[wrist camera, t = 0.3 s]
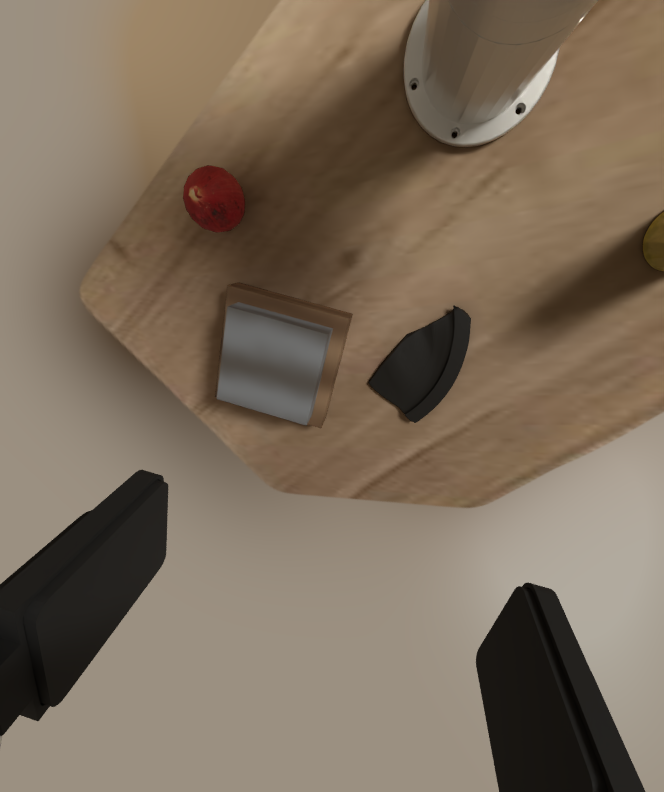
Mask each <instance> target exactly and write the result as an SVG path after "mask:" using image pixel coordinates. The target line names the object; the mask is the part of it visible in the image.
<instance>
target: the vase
mask: <svg viewBox="0 0 664 792" xmlns="http://www.w3.org/2000/svg"><path fill="white" fill-rule="evenodd" d="M643 253H644V257H645V259H646V261H647V262H648V263H649V264H650V265H651V266H652V267H653V268H655V269H657V270H660V271H664V212H663V213H661V214H660V215H659V216H658V217H657V218H656V219H655V220H654V221H653V222H652V224H651V225H650V227H649V228H648V230H647V232H646V234H645V237H644V240H643Z"/></svg>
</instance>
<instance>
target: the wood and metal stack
mask: <svg viewBox="0 0 664 792" xmlns="http://www.w3.org/2000/svg"><path fill="white" fill-rule="evenodd" d="M352 315H353V314H351V313H347V312H343V311H340V310H336V309H333V308H329V307H325V306H322V305H318V304H314V303H311V302H307V301H303V300H300V299H296V298H293V297H289V296H285V295H282V294H278V293H274V292H271V291H267V290H264V289H260V288H256V287H253V286H249V285H245V284H242V283H235V284H231V285H228V287H227V296H226V305H225V314H224V322H223V331H222V340H221V349H220V358H219V367H218V376H217V385H216V393H215V397H217V399H219V400H222V401H225V402H229V403H232V404H235V405H239V406H242V407H246V408H249V409H252V410H256V411H259V412H262V413H266V414H269V415H272V416H276V417H279V418H283V419H286V420H289V421H293V422H296V423H299V424H303V425H306V426H307V424H308V425H312V426H315V427H318V428H322V425H323V423H324V421H325V418H326V415H327V411H328V407H329V403H330V399H331V395H332V391H333V388H334V384H335V380H336V376H337V372H338V368H339V365H340V361H341V357H342V353H343V349H344V345H345V342H346V338H347V334H348V330H349V326H350V322H351V318H352Z"/></svg>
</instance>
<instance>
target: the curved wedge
mask: <svg viewBox="0 0 664 792" xmlns="http://www.w3.org/2000/svg"><path fill="white" fill-rule="evenodd" d="M453 307H454V309H453V310H452V312H450V313H449V314H447V315H446V316H444V317H443V318H441V319H439V320H437V321H435V322H433V323H431V324H429V325H428V326H425V327H423V328H421V329H418V330H416V331H414V332H411V333H409V334H407V335H406V336H405V337H404V338H403V340H402V341H401V342H400V343H399V344H398V345H397V346H396V347H395V348H394V349H393V351H392V352H391V353H390V354H389V355H388V356H387V358H386V359H385V360H384V361H383V363H382V364H381V365H380V367H379V368H378V369H377V371H376V372H375V373H374V375H373V376H372V378H371V379H370V380H369V384H370V385H371V387H372V388H373V389H374V390H376V391H377V392H378V393H379V394H380V395H381V396H383V397H384V398H386V399H387V400H389V401H390V402H392V403H393V404H395V405H396V406H398V407H399V408H400V409H401V410H402V412H403V413H404V414H405V416H406V417H407V418H408V419H409V420H410V421H413V422H414V423H416V422H418V421H419V420H420V419H422V418H423V417H424V416H426V415H427V414H428V413H429V412H430V411H432V410H433V409H434V408H435V407H436V406H437V405H438V404H439V403H440V402H441V400H442V399H443V398H444V397H445V396H446V394H447V393H448V392H449V390H450V389H451V387H452V385H453V384H454V382H455V380H456V378H457V376H458V374H459V372H460V369H461V367H462V364H463V361H464V358H465V355H466V351H467V347H468V343H469V336H470V324H471V318H470V317H469V315H468V314H467V313H466V312H465V311H464V310H462V309H460V308H459V307H456V306H453Z"/></svg>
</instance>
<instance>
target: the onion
mask: <svg viewBox="0 0 664 792" xmlns="http://www.w3.org/2000/svg"><path fill="white" fill-rule="evenodd" d="M183 199H184V203H185V207H186V210H187V212H188V213H189V215H190V216H191V218H192V219H193V220H194V221H195V222H196V223H198V224H199V225H200V226H201V227H202V228H204V229H207V230H210V231H214V232H224V231H230V230H232V229H233V228H234V227H236V226H237V225H238V224H239V223H240V221H241V219H242V217H243V215H244V213H245V199H244V195H243V191H242V188H241V186H240V185H239V183H238V182H237V180H236V179H235V178H234V177H233V176H232V175H231V174H230V173H228V172H227V171H226V170H224V169H223V168H220V167H215V166H204V167H201V168H198V169H196V170H195V171H194V172H193V173H192V174H191V175H190V176H188V179H187V181H186V183H185V186H184V194H183Z"/></svg>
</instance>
